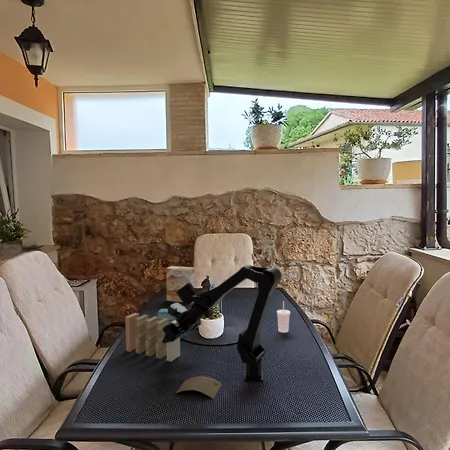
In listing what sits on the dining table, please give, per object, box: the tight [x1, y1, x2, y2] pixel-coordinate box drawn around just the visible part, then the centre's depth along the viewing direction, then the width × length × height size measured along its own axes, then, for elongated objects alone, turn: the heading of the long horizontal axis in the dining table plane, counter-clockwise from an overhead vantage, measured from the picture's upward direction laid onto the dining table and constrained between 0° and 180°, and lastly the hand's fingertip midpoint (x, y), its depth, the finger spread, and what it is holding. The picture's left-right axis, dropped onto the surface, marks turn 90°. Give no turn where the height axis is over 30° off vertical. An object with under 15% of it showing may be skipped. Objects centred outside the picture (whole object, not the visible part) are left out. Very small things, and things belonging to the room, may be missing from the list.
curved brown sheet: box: [175, 375, 223, 400], centre depth 127 cm, size 14×10×3 cm
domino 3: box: [155, 318, 169, 360], centre depth 153 cm, size 2×6×14 cm, turn 153°
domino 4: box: [166, 320, 181, 362], centre depth 150 cm, size 2×6×14 cm, turn 152°
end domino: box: [124, 312, 140, 353], centre depth 160 cm, size 2×6×14 cm, turn 152°
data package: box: [156, 308, 186, 340], centre depth 172 cm, size 12×4×12 cm, turn 89°
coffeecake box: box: [165, 265, 195, 303], centre depth 229 cm, size 15×7×20 cm, turn 73°
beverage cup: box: [276, 300, 291, 333], centre depth 179 cm, size 6×6×14 cm
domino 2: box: [145, 315, 159, 357], centre depth 155 cm, size 2×6×14 cm, turn 152°
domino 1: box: [135, 314, 150, 355], centre depth 157 cm, size 2×6×14 cm, turn 153°
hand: (170, 338), depth 151 cm, fingers open, 9 cm apart
